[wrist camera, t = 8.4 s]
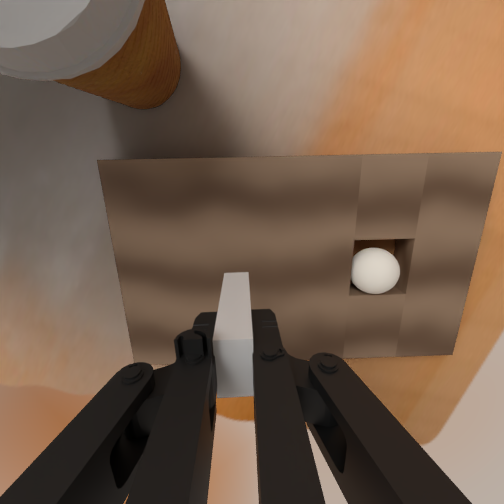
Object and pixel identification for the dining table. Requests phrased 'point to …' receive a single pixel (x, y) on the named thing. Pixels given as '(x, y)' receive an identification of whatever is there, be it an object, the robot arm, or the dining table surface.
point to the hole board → (299, 245)
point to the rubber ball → (374, 270)
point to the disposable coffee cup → (93, 47)
